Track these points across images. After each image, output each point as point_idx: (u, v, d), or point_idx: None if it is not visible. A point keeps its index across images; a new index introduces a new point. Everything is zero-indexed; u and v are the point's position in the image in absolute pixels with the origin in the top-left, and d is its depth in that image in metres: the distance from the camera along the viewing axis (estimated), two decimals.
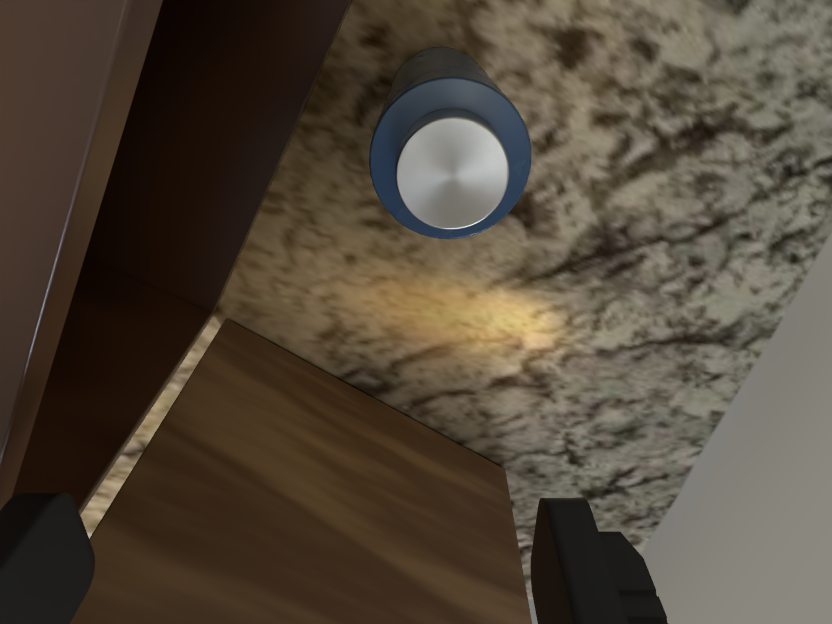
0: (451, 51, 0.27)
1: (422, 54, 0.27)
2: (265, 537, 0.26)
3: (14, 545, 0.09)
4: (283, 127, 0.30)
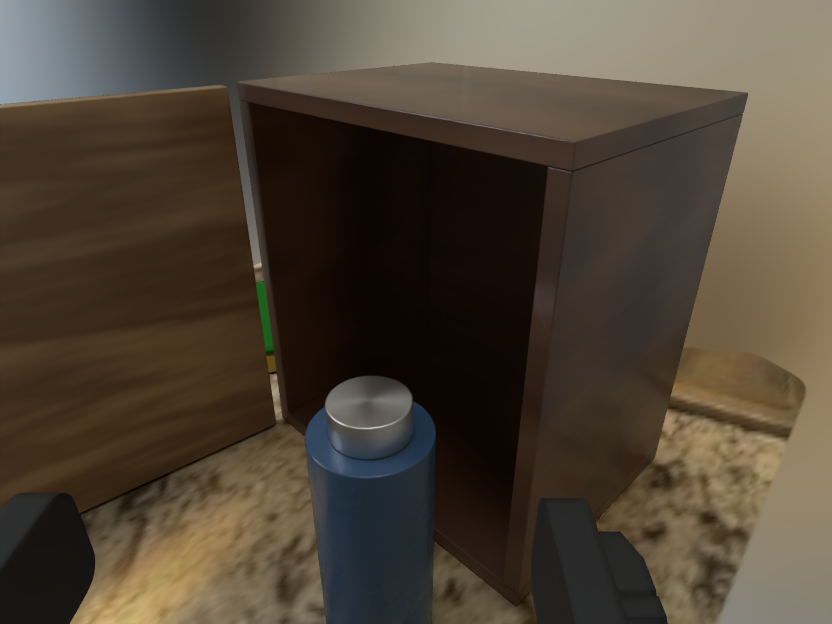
0: (427, 621, 0.27)
1: None
2: (149, 282, 0.33)
3: (14, 545, 0.09)
4: None
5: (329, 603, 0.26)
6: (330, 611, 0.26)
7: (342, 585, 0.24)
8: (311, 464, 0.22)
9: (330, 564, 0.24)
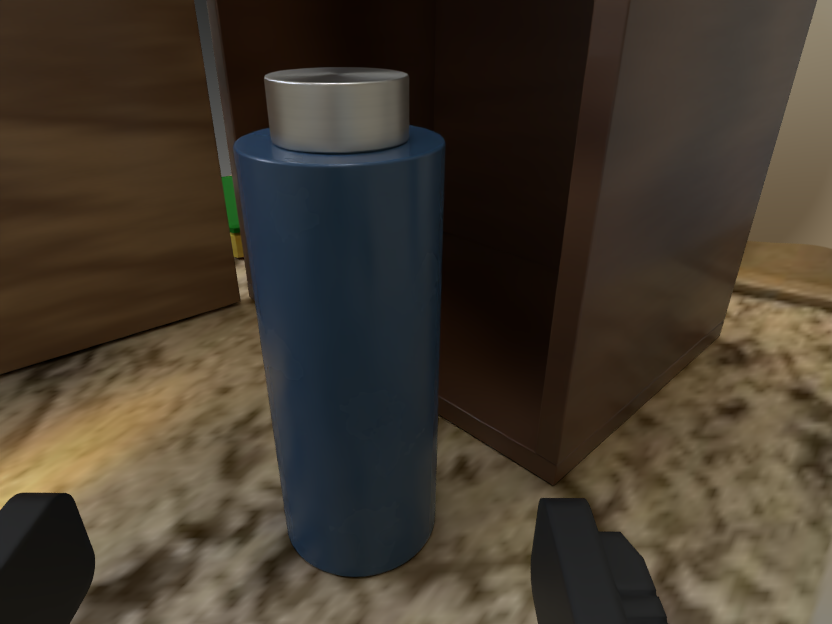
0: (429, 483, 0.18)
1: None
2: (56, 59, 0.25)
3: (14, 545, 0.09)
4: None
5: (281, 444, 0.17)
6: (283, 459, 0.17)
7: (297, 399, 0.15)
8: (240, 172, 0.13)
9: (277, 366, 0.15)
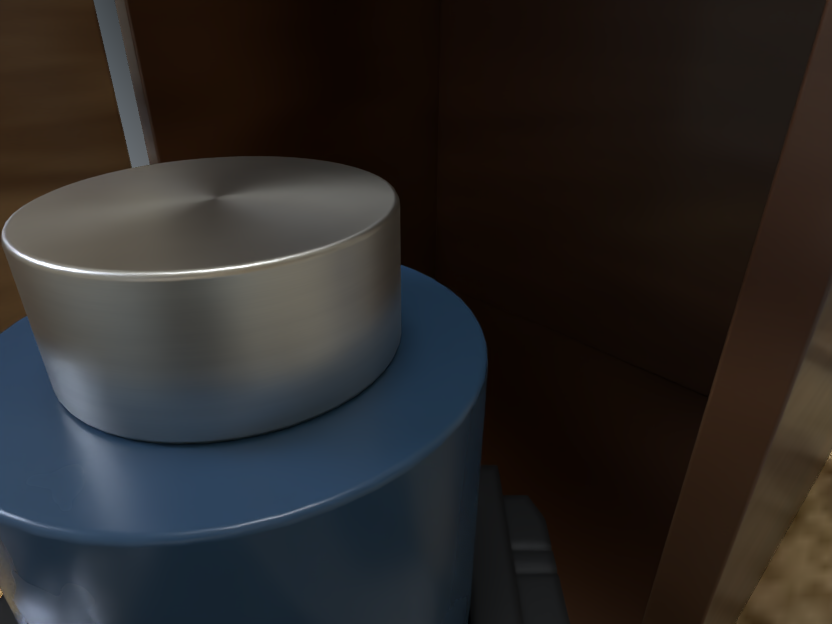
0: None
1: None
2: None
3: None
4: None
5: None
6: None
7: None
8: None
9: None
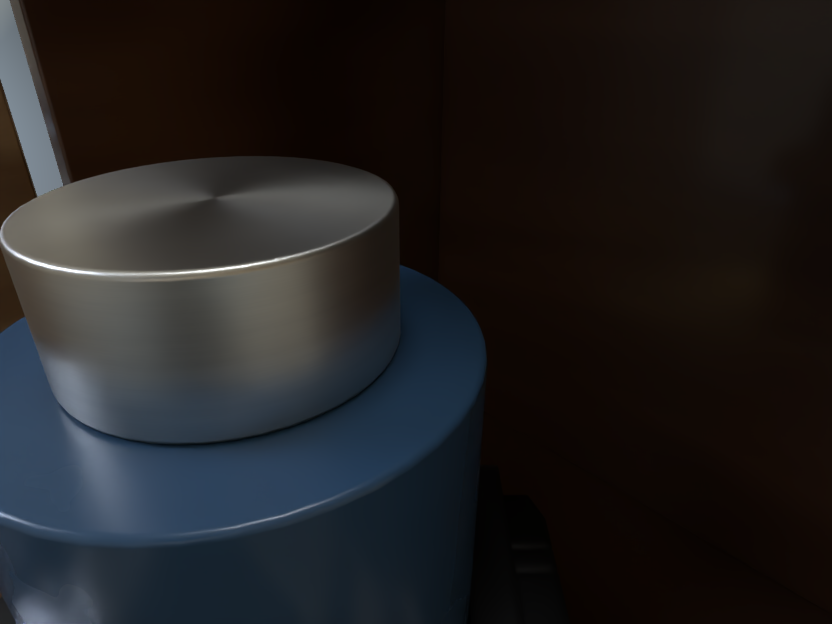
0: None
1: None
2: None
3: None
4: None
5: None
6: None
7: None
8: None
9: None
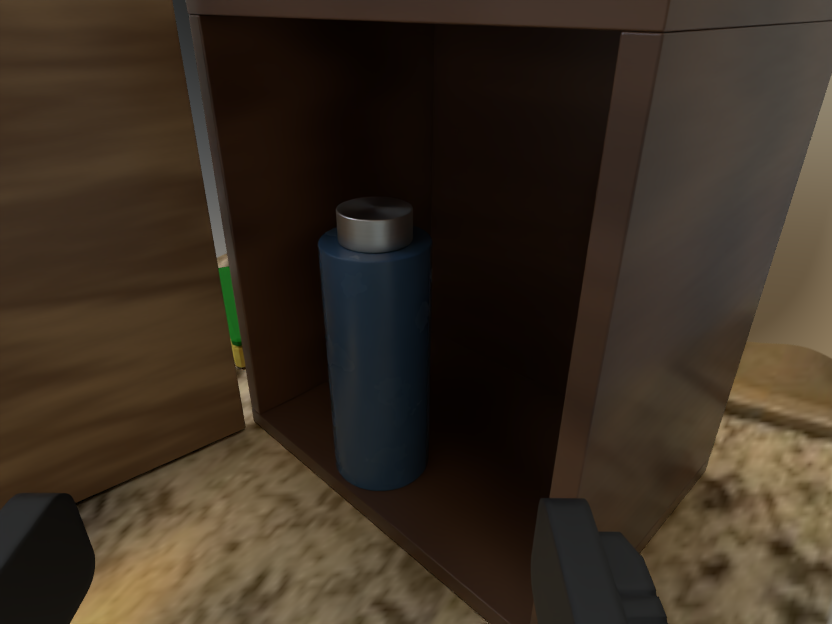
0: (424, 434, 0.30)
1: None
2: (72, 247, 0.26)
3: (14, 545, 0.09)
4: (400, 521, 0.29)
5: (337, 410, 0.29)
6: (338, 418, 0.29)
7: (350, 382, 0.27)
8: (324, 261, 0.25)
9: (339, 364, 0.27)
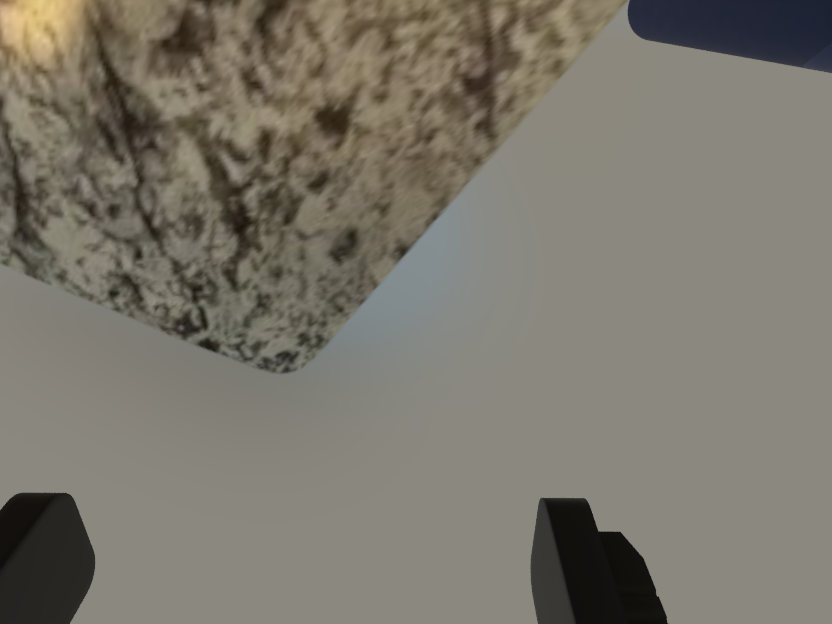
0: None
1: None
2: None
3: (14, 545, 0.09)
4: None
5: None
6: None
7: None
8: None
9: None
